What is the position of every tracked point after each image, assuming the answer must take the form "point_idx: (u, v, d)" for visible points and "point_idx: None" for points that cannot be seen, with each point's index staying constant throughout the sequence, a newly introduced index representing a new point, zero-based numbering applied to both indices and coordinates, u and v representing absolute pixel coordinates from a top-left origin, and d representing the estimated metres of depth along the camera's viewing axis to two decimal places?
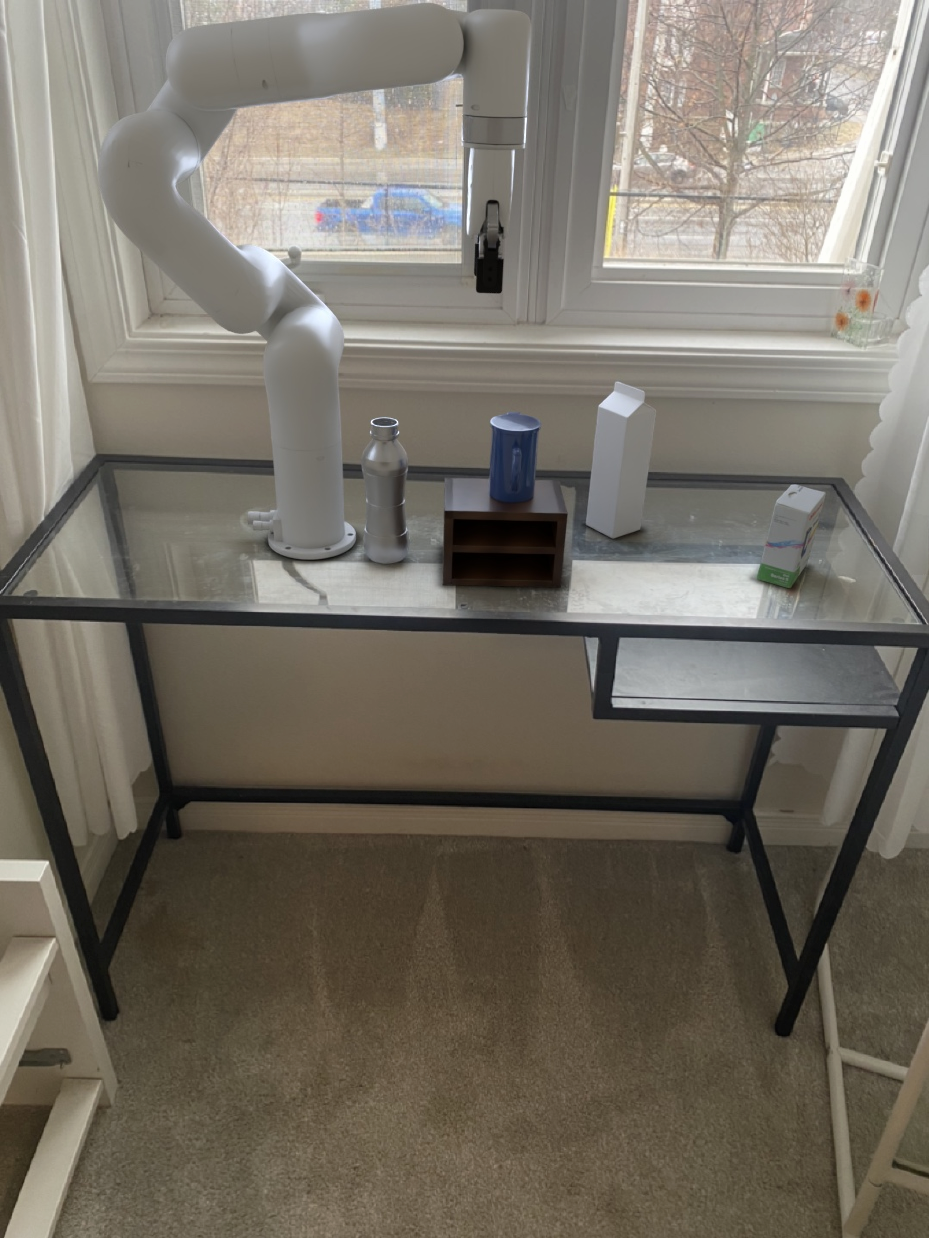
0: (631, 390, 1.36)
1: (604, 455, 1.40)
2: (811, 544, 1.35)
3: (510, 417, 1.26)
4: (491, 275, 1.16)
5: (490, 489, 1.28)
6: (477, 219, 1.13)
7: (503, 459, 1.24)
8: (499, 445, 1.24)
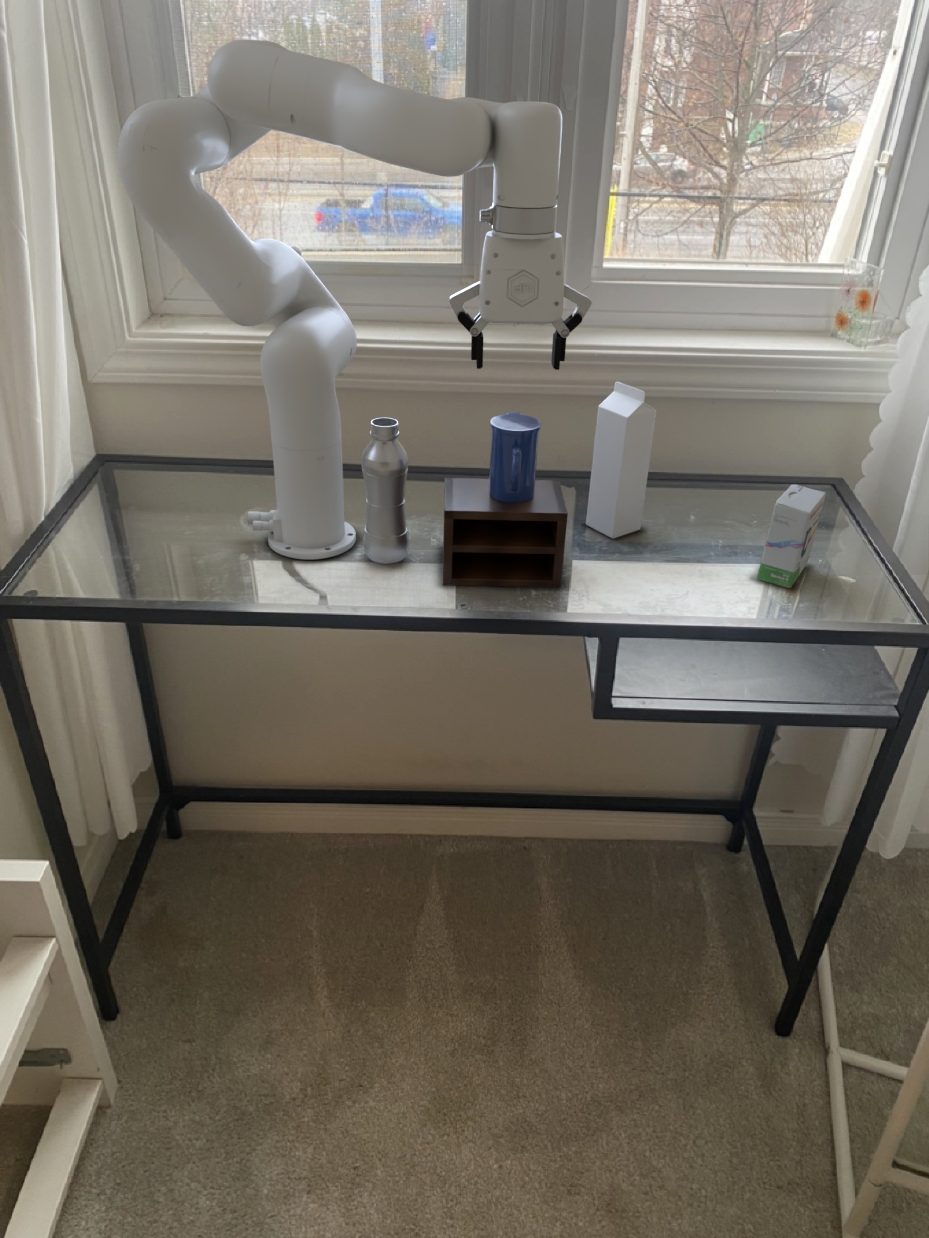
0: (631, 390, 1.36)
1: (604, 455, 1.40)
2: (811, 544, 1.35)
3: (510, 417, 1.26)
4: None
5: (490, 489, 1.28)
6: None
7: (503, 459, 1.24)
8: (499, 445, 1.24)
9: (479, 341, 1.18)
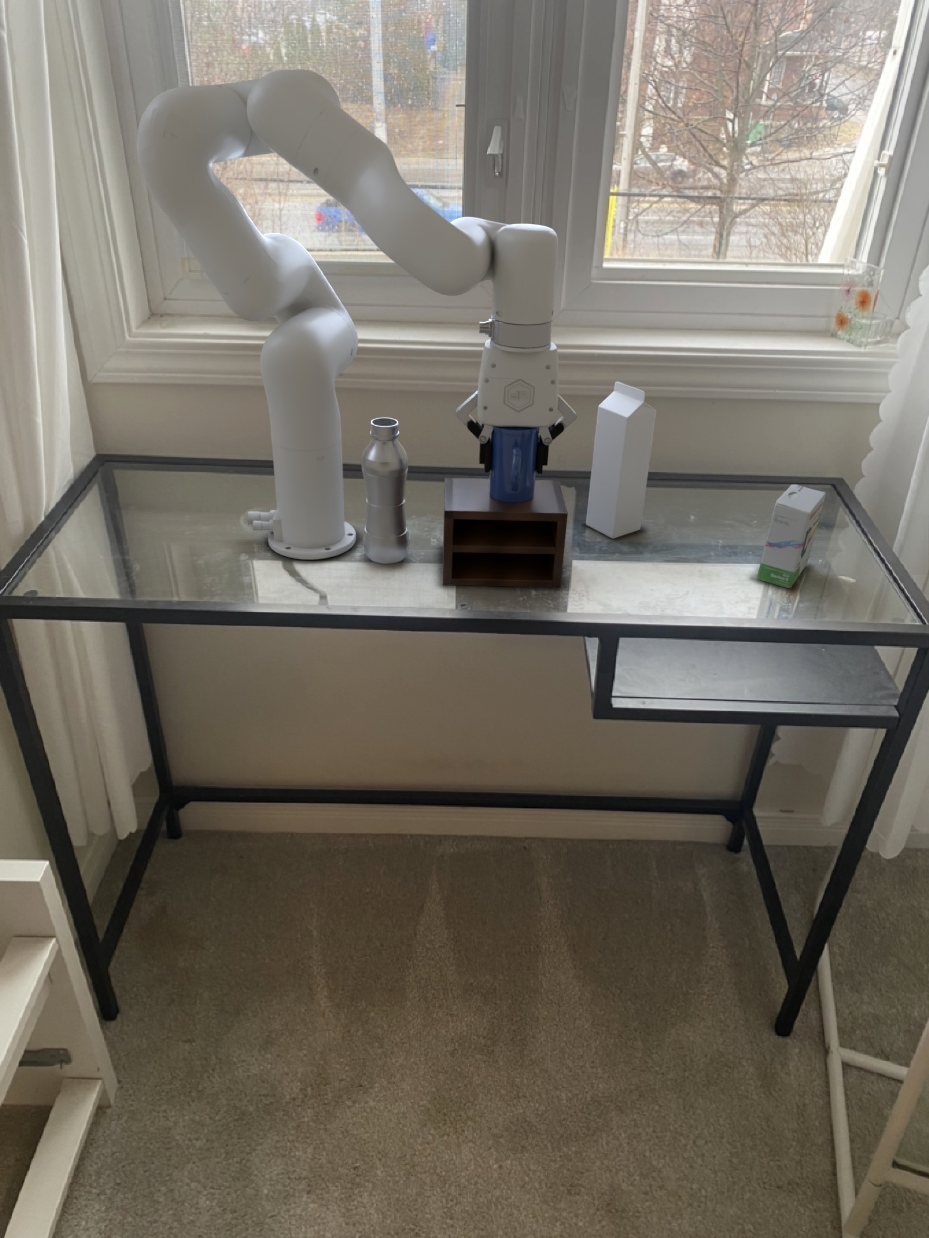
0: (631, 390, 1.36)
1: (604, 455, 1.40)
2: (811, 544, 1.35)
3: None
4: None
5: (490, 489, 1.28)
6: None
7: (503, 459, 1.24)
8: (499, 445, 1.24)
9: (487, 448, 1.25)
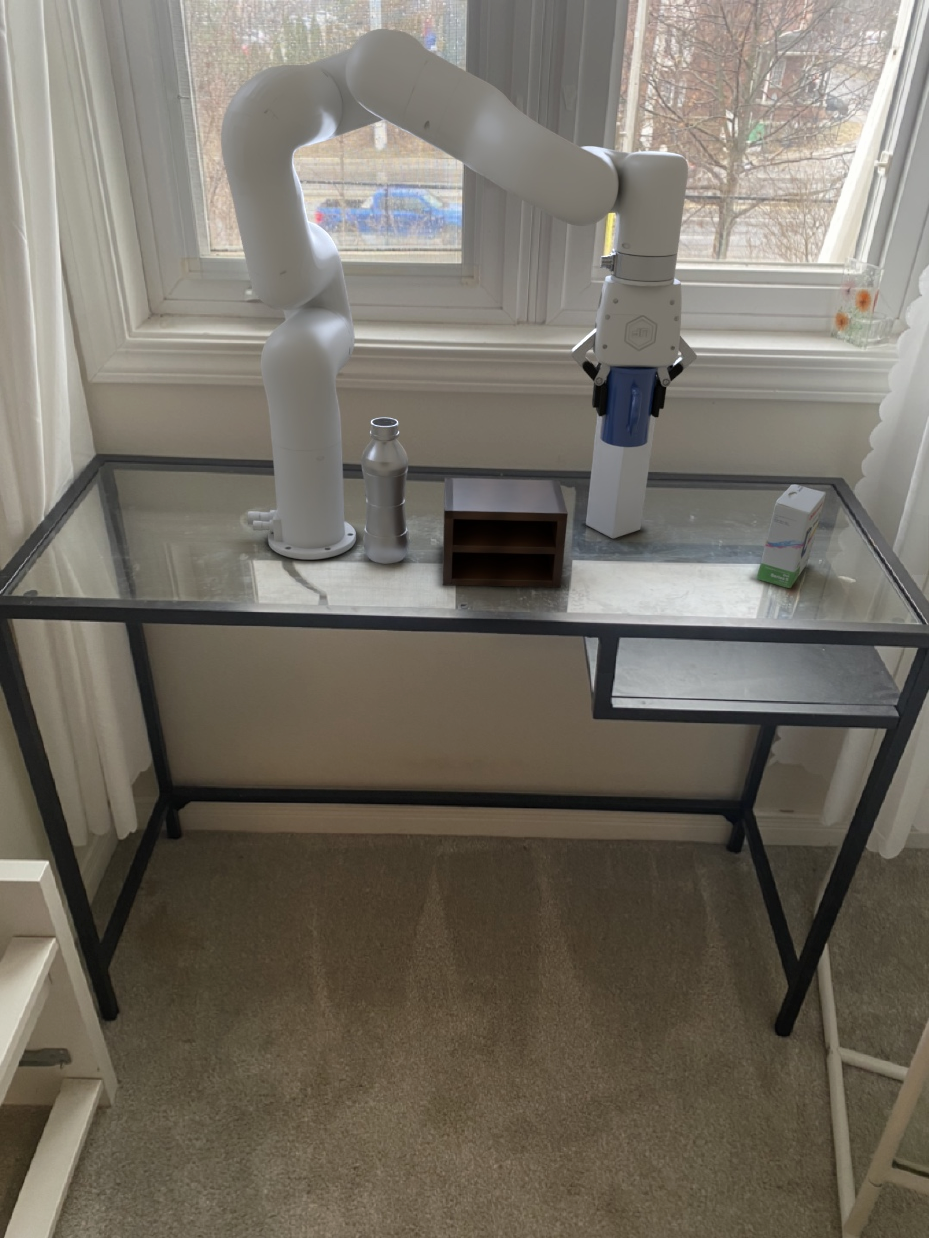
0: None
1: (604, 455, 1.40)
2: (811, 544, 1.35)
3: None
4: None
5: (603, 434, 1.24)
6: None
7: (621, 401, 1.20)
8: (617, 386, 1.19)
9: (603, 390, 1.20)
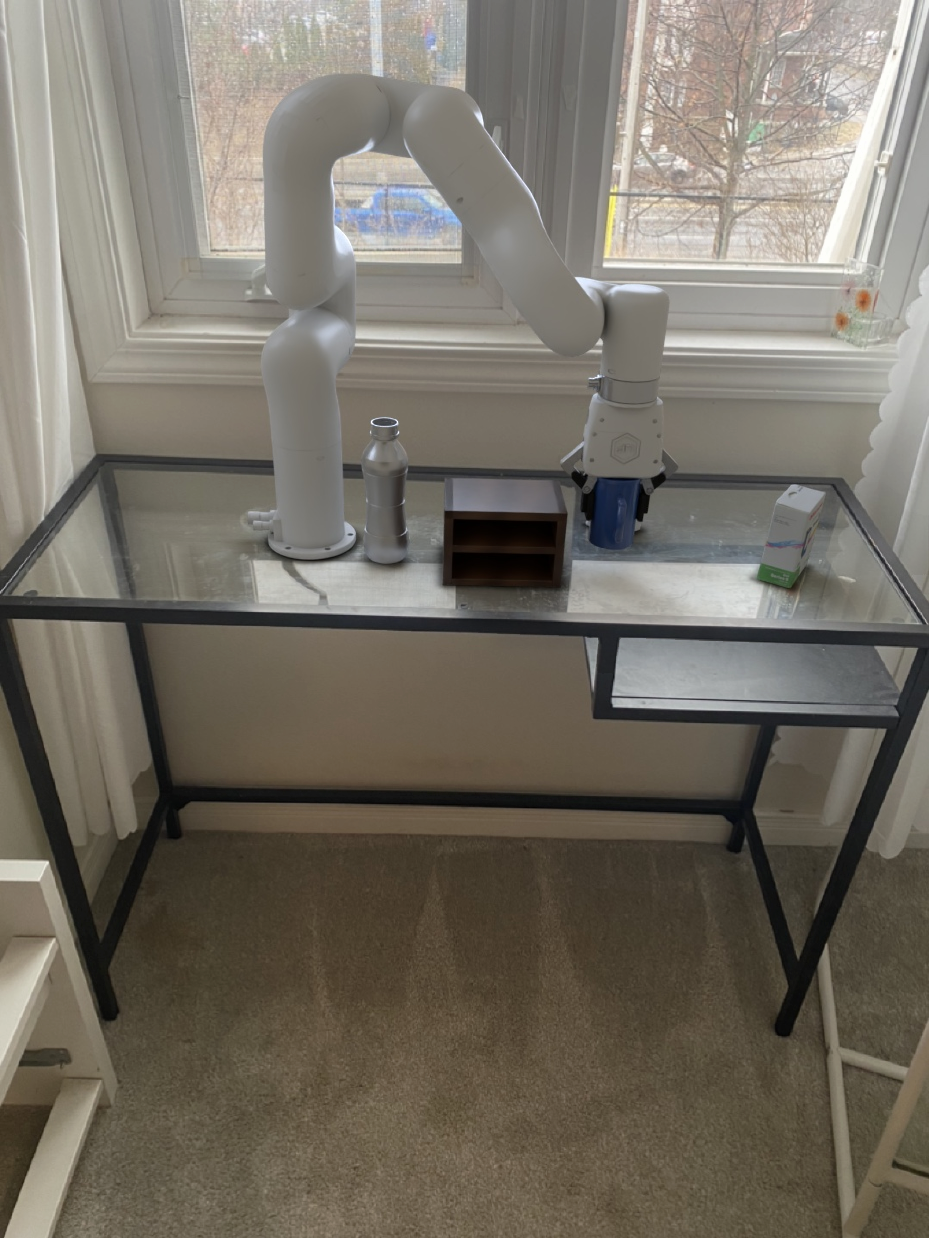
0: None
1: None
2: (811, 544, 1.35)
3: None
4: None
5: (591, 536, 1.31)
6: None
7: (607, 509, 1.27)
8: (603, 495, 1.27)
9: (590, 498, 1.28)
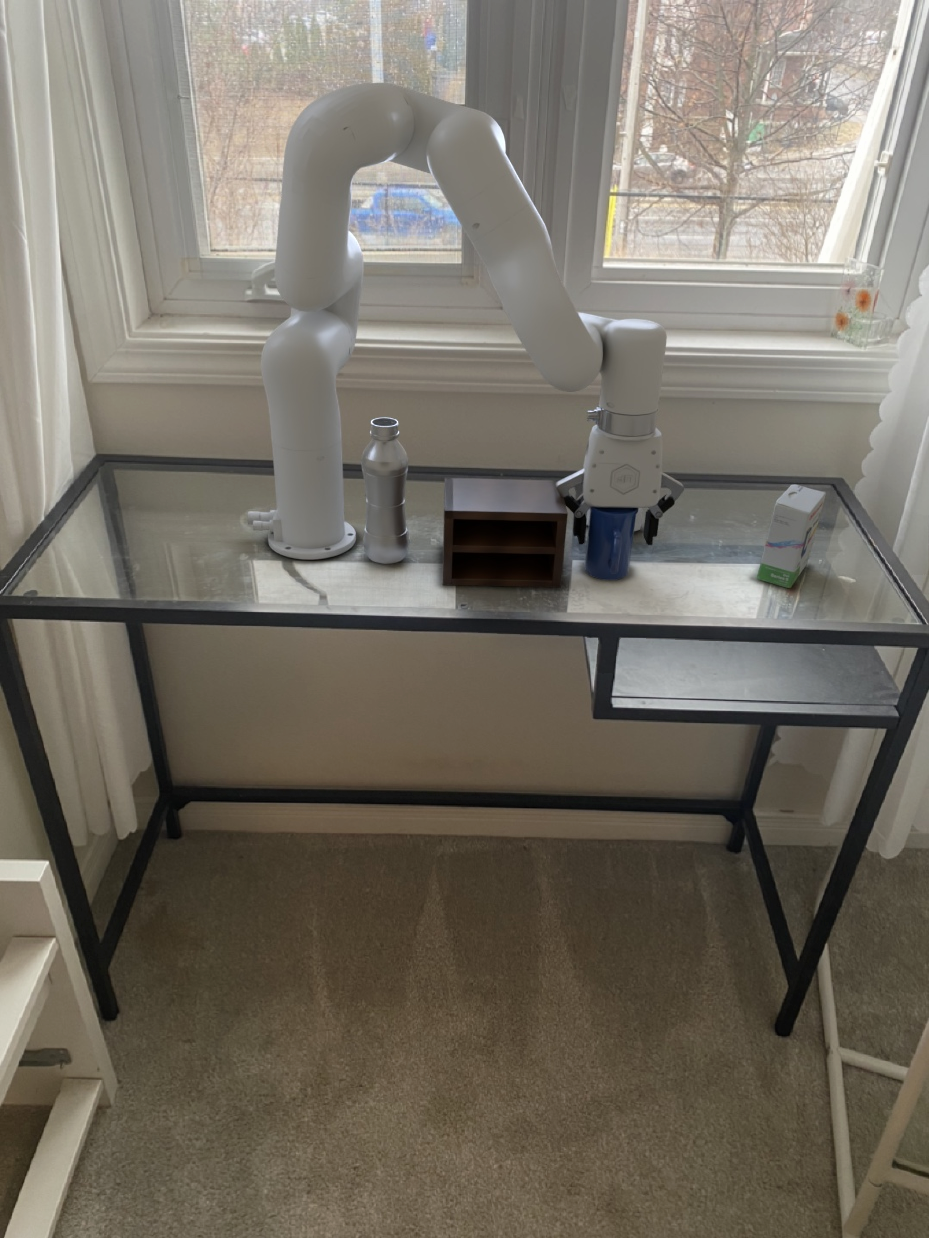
0: None
1: None
2: (811, 544, 1.35)
3: None
4: None
5: (587, 566, 1.34)
6: None
7: (603, 540, 1.30)
8: (599, 526, 1.29)
9: (583, 522, 1.30)
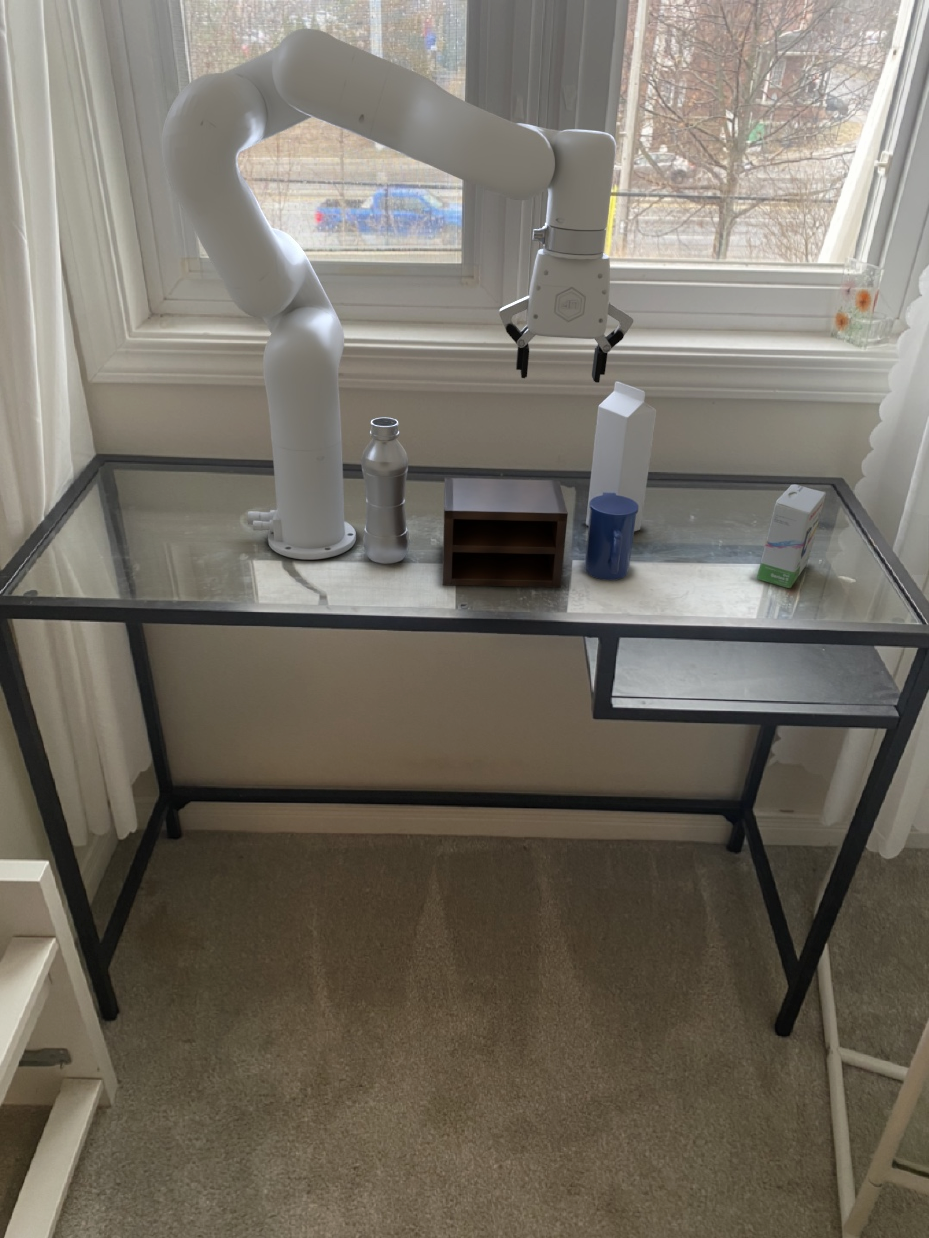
0: (631, 390, 1.36)
1: (604, 455, 1.40)
2: (811, 544, 1.35)
3: (608, 498, 1.32)
4: None
5: (587, 566, 1.34)
6: None
7: (603, 540, 1.30)
8: (599, 526, 1.29)
9: (525, 352, 1.25)
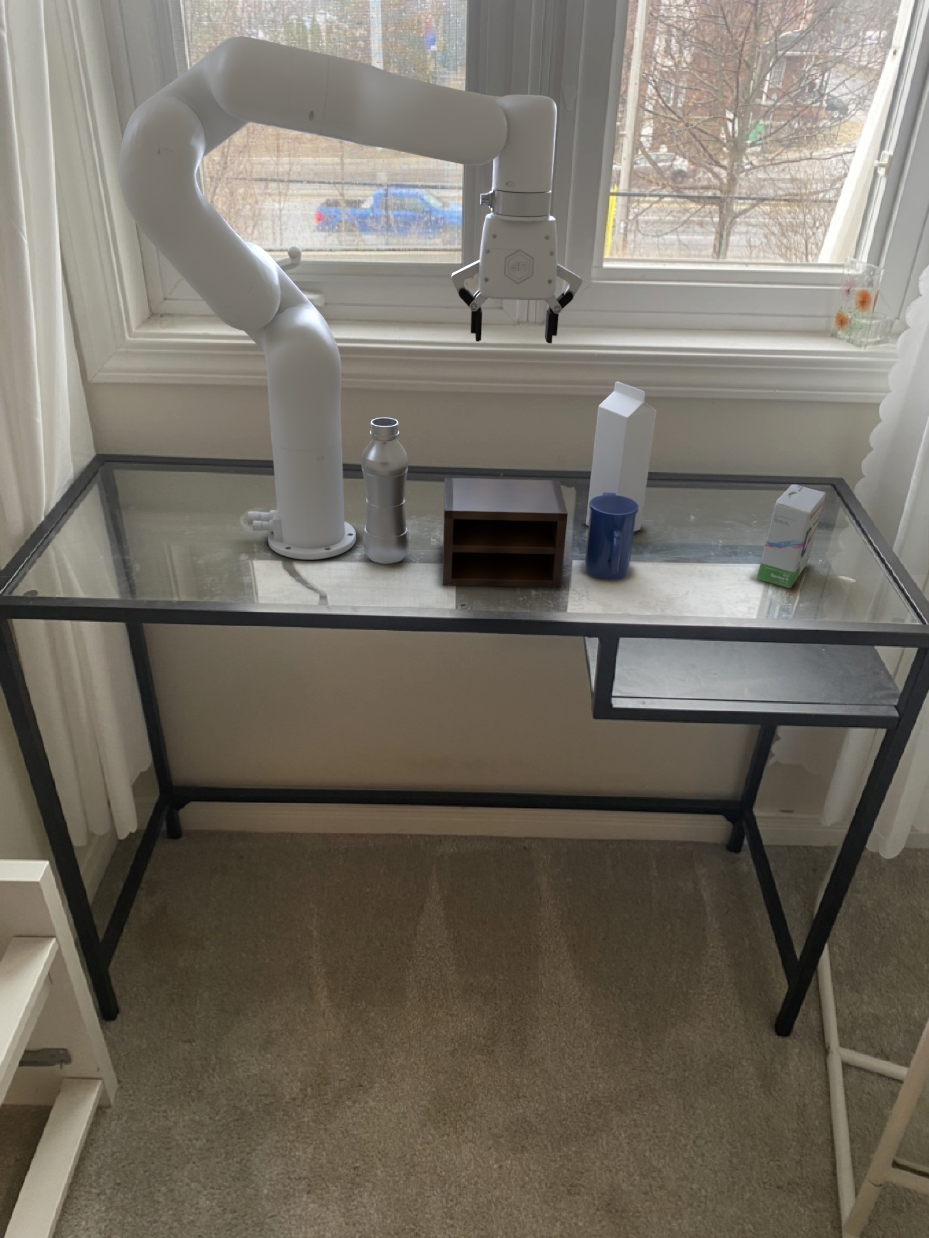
0: (631, 390, 1.36)
1: (604, 455, 1.40)
2: (811, 544, 1.35)
3: (608, 498, 1.32)
4: None
5: (587, 566, 1.34)
6: None
7: (603, 540, 1.30)
8: (599, 526, 1.29)
9: (478, 315, 1.28)
